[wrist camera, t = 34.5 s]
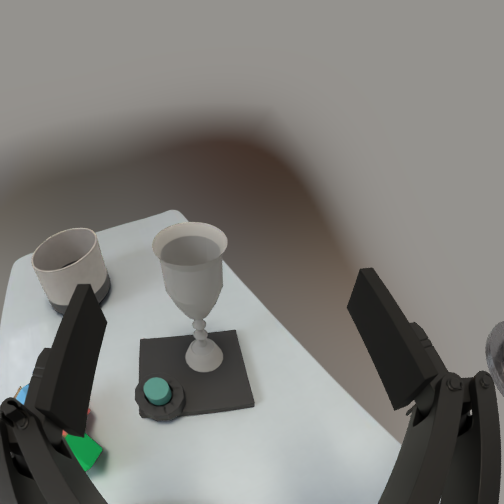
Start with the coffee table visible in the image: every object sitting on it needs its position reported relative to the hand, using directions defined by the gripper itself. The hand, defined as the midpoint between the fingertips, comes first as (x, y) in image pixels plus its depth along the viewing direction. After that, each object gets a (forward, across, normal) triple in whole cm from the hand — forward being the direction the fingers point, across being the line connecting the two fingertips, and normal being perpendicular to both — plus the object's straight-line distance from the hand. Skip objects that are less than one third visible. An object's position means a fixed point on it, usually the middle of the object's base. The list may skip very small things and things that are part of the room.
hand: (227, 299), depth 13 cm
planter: (+26, -26, -24) cm, 44 cm away
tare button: (+5, -8, -21) cm, 23 cm away
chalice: (+12, -3, -22) cm, 25 cm away
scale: (+10, -5, -23) cm, 26 cm away
